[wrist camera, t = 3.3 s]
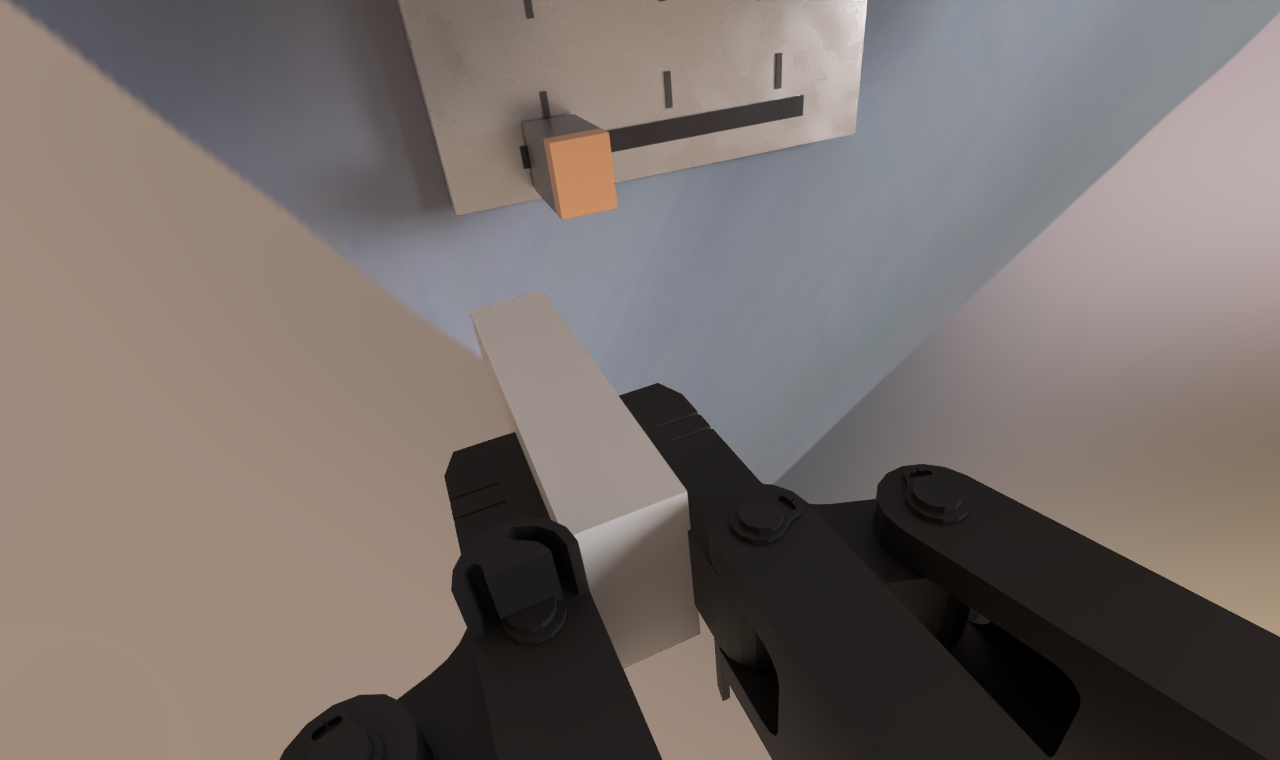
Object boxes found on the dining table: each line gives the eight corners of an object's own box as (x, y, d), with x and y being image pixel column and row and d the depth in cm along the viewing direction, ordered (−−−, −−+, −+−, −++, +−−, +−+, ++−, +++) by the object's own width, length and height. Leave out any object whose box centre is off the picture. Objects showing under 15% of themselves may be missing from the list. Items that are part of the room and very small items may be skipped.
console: (368, -105, 23) (368, -114, 22) (852, -141, 29) (882, -150, 27) (451, 204, 30) (456, 216, 28) (833, 127, 35) (856, 134, 34)
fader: (522, 123, 27) (549, 143, 23) (574, 114, 28) (608, 132, 24) (535, 190, 29) (562, 220, 25) (583, 180, 29) (617, 208, 25)
